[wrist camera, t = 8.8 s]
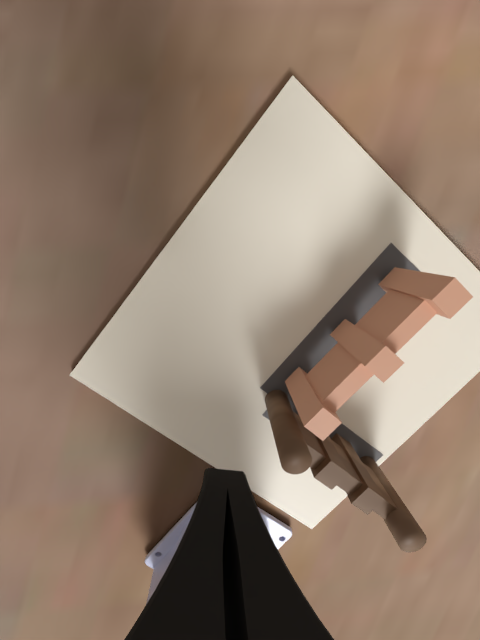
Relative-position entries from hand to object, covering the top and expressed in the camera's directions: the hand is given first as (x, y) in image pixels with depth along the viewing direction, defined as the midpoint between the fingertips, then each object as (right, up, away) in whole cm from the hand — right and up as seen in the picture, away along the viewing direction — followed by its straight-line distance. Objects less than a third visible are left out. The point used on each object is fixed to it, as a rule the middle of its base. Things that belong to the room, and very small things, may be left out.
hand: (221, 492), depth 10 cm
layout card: (+5, +4, +10) cm, 12 cm away
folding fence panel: (+7, +5, +9) cm, 13 cm away
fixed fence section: (+7, -2, +11) cm, 13 cm away
